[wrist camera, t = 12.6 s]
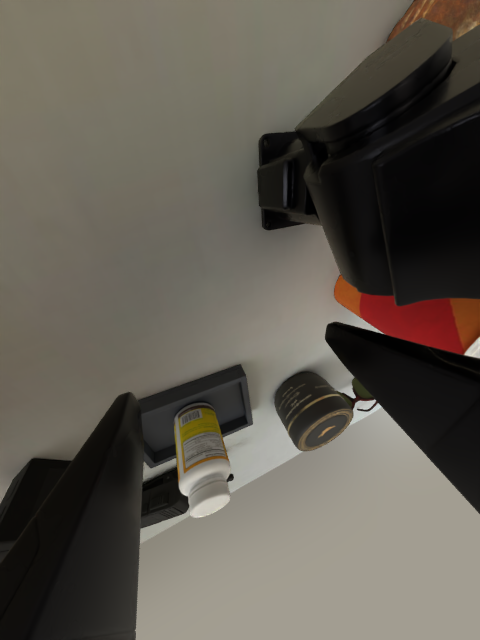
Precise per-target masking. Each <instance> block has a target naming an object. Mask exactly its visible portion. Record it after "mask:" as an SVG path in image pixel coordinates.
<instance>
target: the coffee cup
mask: <svg viewBox="0 0 480 640" xmlns="http://www.w3.org/2000/svg"><path fill="white" fill-rule="evenodd" d="M334 295H335V298H336V300H337V301H338V302H339V303H340V304H342V305H343V306H344V307H346V308H347V309H349V310H350V311H351V312H353V313H354V314H356V315H357V316H359V317H360V318H362V319H363V320H365V321H366V322H368V323H369V324H371V325H372V326H374V327H375V328H377V329H378V330H380V331H381V332H383V333H384V334H386V335H389V336H393V337H396V338H400V339H404V340H408V341H412V342H415V343H419V344H423V345H427V346H431V347H435V348H438V349H442V350H446V351H450V352H454V353H458V354H463V355H467V356H471V357H476V358H480V299H466V298H444V299H435V300H425V301H420V302H416V303H412V304H409V305H405V306H396V304H395V300H394V296H377V295H368V294H365V293H361V292H358V291H357V289H356V288H355V287H353V286H352V285H350V284H349V283H348V282H346V281H345V280H344V279H343V277H342V275H340V276H339V278H338V280H337V282H336V285H335V289H334Z"/></svg>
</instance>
